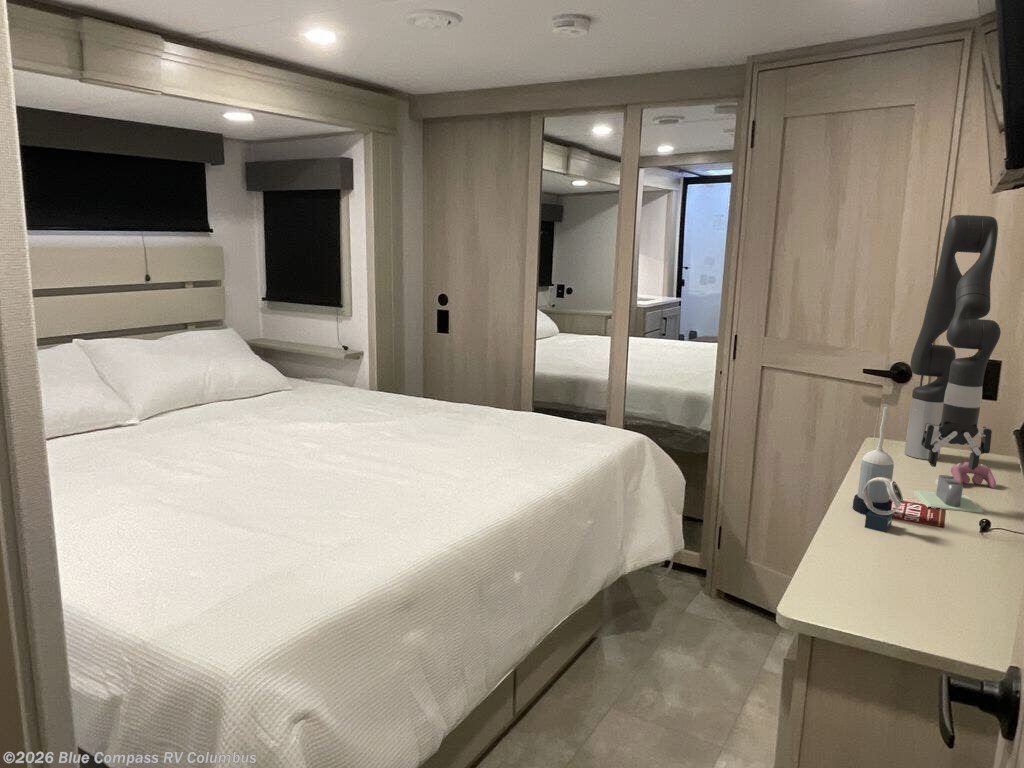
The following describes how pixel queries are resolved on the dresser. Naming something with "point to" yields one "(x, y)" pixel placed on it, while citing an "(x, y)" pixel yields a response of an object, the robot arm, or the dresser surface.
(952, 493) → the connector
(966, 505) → the mat
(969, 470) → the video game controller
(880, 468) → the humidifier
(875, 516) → the watch
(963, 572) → the dresser surface
